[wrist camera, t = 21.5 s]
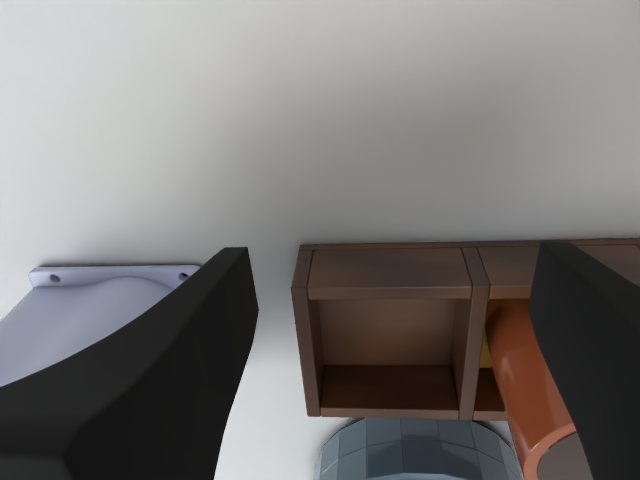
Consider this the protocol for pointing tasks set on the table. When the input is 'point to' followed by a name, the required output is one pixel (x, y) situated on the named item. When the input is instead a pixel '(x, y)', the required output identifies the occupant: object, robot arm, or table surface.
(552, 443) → the cup
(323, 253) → the box
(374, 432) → the bowl
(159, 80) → the table surface
